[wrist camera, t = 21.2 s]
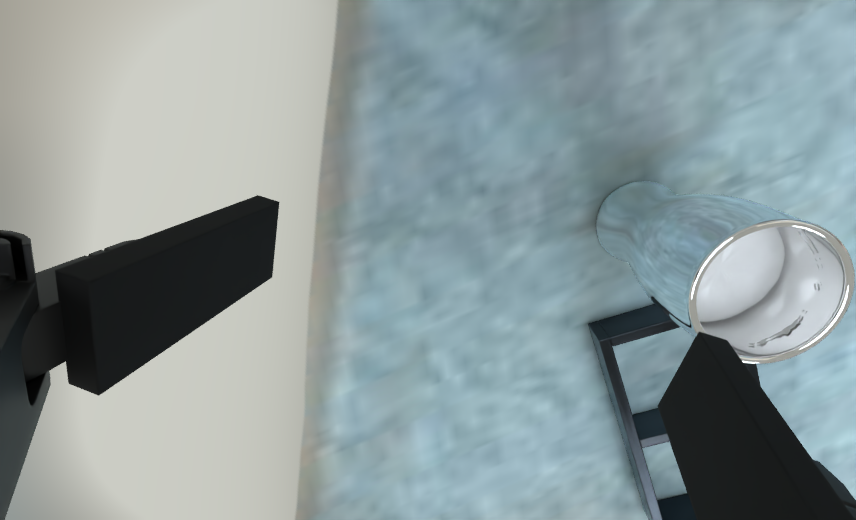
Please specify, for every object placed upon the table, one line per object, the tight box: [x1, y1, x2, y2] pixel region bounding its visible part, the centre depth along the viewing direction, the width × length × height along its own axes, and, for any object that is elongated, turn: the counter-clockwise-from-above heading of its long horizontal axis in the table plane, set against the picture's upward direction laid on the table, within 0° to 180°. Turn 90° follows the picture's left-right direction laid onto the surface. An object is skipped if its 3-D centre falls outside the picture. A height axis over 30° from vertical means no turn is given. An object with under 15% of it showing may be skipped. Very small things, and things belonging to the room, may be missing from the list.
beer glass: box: [596, 181, 855, 364], centre depth 26 cm, size 7×7×15 cm
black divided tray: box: [588, 304, 761, 520], centre depth 36 cm, size 10×19×3 cm, turn 21°
